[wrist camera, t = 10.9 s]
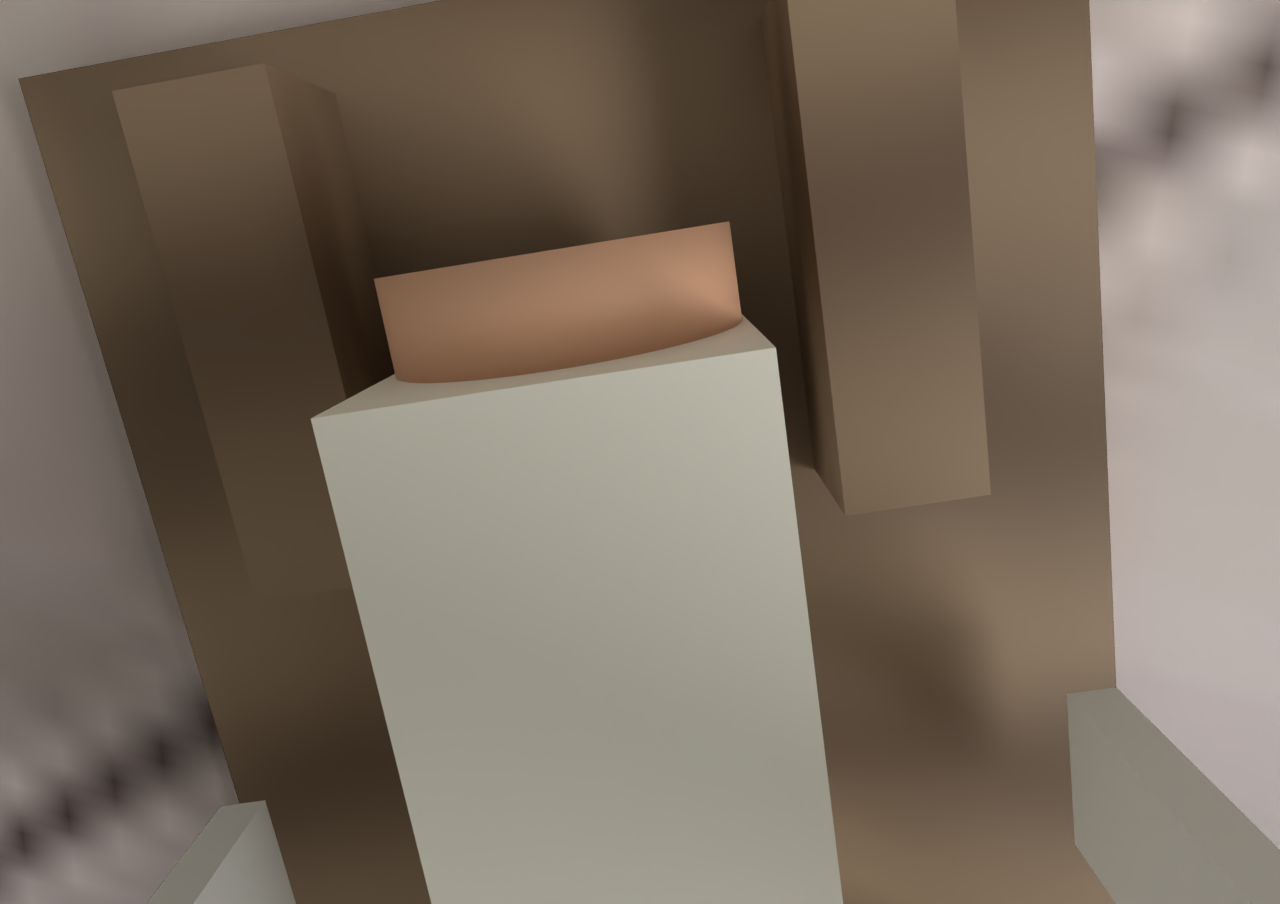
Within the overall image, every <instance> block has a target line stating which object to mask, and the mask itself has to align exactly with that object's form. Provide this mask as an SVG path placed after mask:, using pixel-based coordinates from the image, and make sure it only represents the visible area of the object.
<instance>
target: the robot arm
mask: <svg viewBox="0 0 1280 904" xmlns="http://www.w3.org/2000/svg"><path fill="white" fill-rule="evenodd" d="M1067 707H1068V726H1069V744H1070V763H1071V782H1072V800H1073V819H1074V837H1075V845H1076V846H1077V848H1078V849H1079V851H1080V852H1081V854H1082V855H1083V857H1084V858H1085V860H1086V861H1087V863H1088V864H1089V865H1090V867H1091V868H1092V870H1093V871H1094V873H1095V874H1096V876H1097V877H1098V879H1099V880H1100V882H1101V883H1102V885H1103V886H1104V888H1105V889H1106V890H1107V892H1108V893H1109V895H1110V896H1111V898H1112V899H1113V901H1114V902H1115V904H1280V850H1279V849H1278V848H1277V847H1276V846H1275V845H1274V844H1273V843H1272V842H1271V841H1270V840H1269V839H1268V838H1267V837H1266V836H1265V835H1264V834H1263V833H1262V832H1261V831H1260V830H1259V829H1258V828H1257V827H1256V826H1255V825H1254V824H1253V823H1252V822H1251V821H1250V820H1249V819H1248V818H1247V817H1246V816H1245V815H1244V814H1243V813H1242V812H1241V811H1240V810H1239V809H1238V808H1237V807H1236V806H1235V805H1234V804H1233V803H1232V802H1231V801H1230V800H1229V799H1228V798H1227V797H1226V796H1225V795H1224V794H1223V793H1222V792H1221V791H1220V790H1219V789H1218V788H1217V787H1216V786H1215V785H1214V784H1213V783H1212V782H1211V781H1210V780H1209V779H1208V778H1207V777H1206V776H1205V775H1204V774H1203V773H1202V772H1201V771H1200V770H1199V769H1198V768H1197V767H1196V766H1195V765H1194V764H1193V763H1192V762H1191V761H1190V760H1189V759H1188V758H1187V757H1186V756H1185V755H1184V754H1183V753H1182V752H1181V751H1180V750H1179V749H1178V748H1177V747H1176V746H1175V745H1174V744H1173V743H1172V742H1171V741H1170V740H1169V739H1168V738H1167V737H1166V736H1165V735H1164V734H1163V733H1162V732H1161V731H1160V730H1159V729H1158V728H1157V727H1156V726H1155V725H1154V724H1153V723H1151V722H1150V721H1149V720H1148V719H1147V718H1146V717H1145V716H1144V715H1143V714H1142V713H1141V712H1140V711H1139V710H1138V709H1137V708H1136V707H1135V706H1134V705H1133V704H1132V703H1131V702H1130V701H1129V700H1128V699H1127V698H1126V697H1125V696H1124V695H1123V694H1122V693H1121V692H1120V691H1119V690H1118V689H1117V688H1109V689H1101V690H1093V691H1086V692H1078V693H1071V694H1067ZM147 904H296V902H295V899H294V896H293V892H292V889H291V886H290V882H289V879H288V876H287V872H286V869H285V865H284V862H283V859H282V855H281V852H280V849H279V845H278V842H277V839H276V835H275V832H274V828H273V825H272V822H271V818H270V815H269V812H268V808H267V805H266V802H265V800H264V801H257V802H249V803H241V804H234V805H226V806H221V807H220V808H219V809H218V811H217V812H216V813H215V815H214V816H213V817H212V819H211V820H210V821H209V822H208V824H207V825H206V826H205V828H204V829H203V830H202V832H201V833H200V834H199V836H198V837H197V838H196V839H195V841H194V842H193V843H192V845H191V846H190V847H189V849H188V850H187V851H186V853H185V854H184V855H183V856H182V858H181V859H180V860H179V862H178V863H177V864H176V866H175V867H174V868H173V870H172V871H171V872H170V873H169V875H168V876H167V877H166V879H165V880H164V881H163V883H162V884H161V885H160V887H159V888H158V889H157V890H156V892H155V893H154V894H153V896H152V897H151V898H150V900H149V901H148V902H147Z"/></svg>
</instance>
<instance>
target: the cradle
mask: <svg viewBox="0 0 1280 904" xmlns="http://www.w3.org/2000/svg"><path fill="white" fill-rule="evenodd" d="M19 82H20V86H21V89H22V92H23V95H24V99H25V102H26V105H27V109H28V112H29V115H30V118H31V122H32V125H33V128H34V131H35V135H36V138H37V141H38V145H39V148H40V151H41V154H42V158H43V161H44V164H45V168H46V171H47V174H48V177H49V181H50V184H51V187H52V190H53V194H54V197H55V200H56V204H57V207H58V210H59V213H60V217H61V220H62V223H63V226H64V230H65V233H66V236H67V240H68V243H69V246H70V249H71V253H72V256H73V259H74V262H75V266H76V269H77V272H78V276H79V279H80V282H81V285H82V289H83V292H84V295H85V299H86V302H87V305H88V308H89V312H90V315H91V318H92V321H93V325H94V328H95V331H96V335H97V338H98V341H99V344H100V348H101V351H102V354H103V357H104V361H105V364H106V367H107V371H108V374H109V377H110V380H111V384H112V387H113V390H114V394H115V397H116V400H117V403H118V407H119V410H120V413H121V416H122V420H123V423H124V426H125V430H126V433H127V436H128V439H129V443H130V446H131V449H132V452H133V456H134V459H135V462H136V466H137V469H138V472H139V475H140V479H141V482H142V485H143V489H144V492H145V495H146V498H147V502H148V505H149V508H150V511H151V515H152V518H153V521H154V525H155V528H156V531H157V534H158V538H159V541H160V544H161V547H162V551H163V554H164V557H165V561H166V564H167V567H168V570H169V574H170V577H171V580H172V583H173V587H174V590H175V593H176V597H177V600H178V603H179V606H180V610H181V613H182V616H183V620H184V623H185V626H186V629H187V633H188V636H189V639H190V642H191V646H192V649H193V652H194V656H195V659H196V662H197V665H198V669H199V672H200V675H201V678H202V682H203V685H204V688H205V692H206V695H207V698H208V701H209V705H210V708H211V711H212V715H213V718H214V721H215V724H216V728H217V731H218V734H219V737H220V741H221V744H222V747H223V751H224V754H225V757H226V760H227V764H228V767H229V770H230V773H231V777H232V780H233V783H234V787H235V790H236V793H237V796H238V800H239V803H240V804H241V803H249V802H257V801H264V800H265V802H266V805H267V808H268V812H269V815H270V818H271V822H272V825H273V828H274V832H275V835H276V839H277V842H278V845H279V849H280V852H281V855H282V859H283V862H284V865H285V869H286V872H287V876H288V879H289V882H290V886H291V889H292V892H293V896H294V899H295V902H296V904H431V900H430V896H429V892H428V888H427V884H426V880H425V876H424V872H423V868H422V864H421V860H420V856H419V852H418V848H417V844H416V840H415V836H414V832H413V828H412V824H411V820H410V816H409V812H408V808H407V804H406V800H405V796H404V792H403V788H402V784H401V780H400V775H399V771H398V767H397V763H396V759H395V755H394V751H393V747H392V743H391V739H390V735H389V731H388V727H387V723H386V719H385V715H384V711H383V707H382V703H381V699H380V695H379V691H378V687H377V683H376V679H375V675H374V671H373V667H372V663H371V659H370V655H369V651H368V647H367V643H366V639H365V635H364V631H363V627H362V623H361V619H360V615H359V611H358V607H357V603H356V599H355V595H354V591H353V587H352V583H351V579H350V575H349V571H348V567H347V563H346V559H345V555H344V551H343V547H342V543H341V539H340V535H339V531H338V527H337V523H336V519H335V515H334V511H333V507H332V503H331V499H330V495H329V491H328V487H327V483H326V479H325V475H324V471H323V467H322V463H321V459H320V455H319V451H318V447H317V443H316V439H315V435H314V430H313V426H312V422H311V418H313V417H315V416H316V415H318V414H320V413H322V412H324V411H326V410H328V409H330V408H332V407H333V406H335V405H337V404H339V403H341V402H343V401H345V400H347V399H348V398H350V397H352V396H354V395H356V394H358V393H360V392H362V391H363V390H365V389H367V388H369V387H371V386H373V385H375V384H377V383H378V382H380V381H382V380H384V379H386V378H388V377H390V376H392V375H393V374H395V372H394V367H393V363H392V358H391V354H390V349H389V345H388V340H387V336H386V331H385V327H384V323H383V318H382V314H381V309H380V305H379V300H378V296H377V291H376V287H375V282H374V279H376V278H382V277H388V276H394V275H400V274H406V273H412V272H419V271H425V270H431V269H437V268H443V267H450V266H456V265H462V264H468V263H474V262H480V261H487V260H493V259H499V258H505V257H511V256H518V255H524V254H530V253H536V252H542V251H548V250H555V249H561V248H567V247H573V246H579V245H586V244H592V243H598V242H604V241H610V240H617V239H623V238H629V237H635V236H641V235H648V234H654V233H660V232H666V231H672V230H679V229H685V228H691V227H697V226H703V225H710V224H716V223H722V222H728V221H729V222H730V230H731V238H732V245H733V253H734V261H735V269H736V276H737V284H738V292H739V300H740V307H741V314H742V315H743V316H744V317H745V318H746V319H747V320H748V321H749V322H750V323H751V324H752V325H753V326H755V327H756V328H757V329H758V330H759V331H760V332H761V333H762V334H763V335H764V336H765V337H766V338H767V339H768V340H769V341H770V342H771V343H772V344H773V345H774V346H775V347H776V352H777V361H778V369H779V377H780V386H781V394H782V402H783V410H784V419H785V427H786V435H787V443H788V452H789V460H790V468H791V476H792V485H793V493H794V501H795V509H796V518H797V526H798V534H799V542H800V551H801V559H802V567H803V575H804V584H805V592H806V600H807V609H808V617H809V625H810V633H811V642H812V650H813V658H814V666H815V675H816V683H817V691H818V699H819V708H820V716H821V724H822V732H823V741H824V749H825V757H826V765H827V774H828V782H829V790H830V798H831V807H832V815H833V823H834V832H835V840H836V848H837V856H838V865H839V873H840V881H841V889H842V898H843V904H1115V902H1114V901H1113V899H1112V898H1111V896H1110V895H1109V893H1108V892H1107V890H1106V889H1105V888H1104V886H1103V885H1102V883H1101V882H1100V880H1099V879H1098V877H1097V876H1096V874H1095V873H1094V871H1093V870H1092V868H1091V867H1090V865H1089V864H1088V863H1087V861H1086V860H1085V858H1084V857H1083V855H1082V854H1081V852H1080V851H1079V849H1078V848H1077V846H1076V845H1075V837H1074V819H1073V800H1072V782H1071V763H1070V744H1069V726H1068V707H1067V694H1071V693H1078V692H1086V691H1093V690H1101V689H1109V688H1116V671H1115V646H1114V621H1113V595H1112V570H1111V544H1110V519H1109V494H1108V468H1107V443H1106V418H1105V392H1104V367H1103V342H1102V316H1101V291H1100V266H1099V240H1098V215H1097V189H1096V164H1095V139H1094V113H1093V88H1092V63H1091V37H1090V12H1089V0H442V1H436V2H431V3H426V4H420V5H415V6H409V7H404V8H399V9H393V10H388V11H382V12H377V13H372V14H366V15H361V16H355V17H350V18H345V19H339V20H334V21H328V22H323V23H317V24H312V25H307V26H301V27H296V28H290V29H285V30H280V31H274V32H269V33H263V34H258V35H253V36H247V37H242V38H236V39H231V40H226V41H220V42H215V43H209V44H204V45H199V46H193V47H188V48H182V49H177V50H171V51H166V52H161V53H155V54H150V55H144V56H139V57H134V58H128V59H123V60H117V61H112V62H107V63H101V64H96V65H90V66H85V67H80V68H74V69H69V70H63V71H58V72H52V73H47V74H42V75H36V76H31V77H25V78H20V79H19Z"/></svg>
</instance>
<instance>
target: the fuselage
mask: <svg viewBox="0 0 1280 904" xmlns="http://www.w3.org/2000/svg"><path fill="white" fill-rule="evenodd" d="M374 282H375V287H376V291H377V296H378V300H379V305H380V309H381V314H382V318H383V323H384V327H385V331H386V336H387V340H388V345H389V349H390V354H391V358H392V363H393V367H394V372H395V374H393V375H392V376H390V377H388V378H386V379H384V380H382V381H380V382H378V383H377V384H375V385H373V386H371V387H369V388H367V389H365V390H363V391H362V392H360V393H358V394H356V395H354V396H352V397H350V398H348V399H347V400H345V401H343V402H341V403H339V404H337V405H335V406H333V407H332V408H330V409H328V410H326V411H324V412H322V413H320V414H318V415H316V416H315V417H313V418H311V422H312V426H313V430H314V435H315V439H316V443H317V447H318V451H319V455H320V459H321V463H322V467H323V471H324V475H325V479H326V483H327V487H328V491H329V495H330V499H331V503H332V507H333V511H334V515H335V519H336V523H337V527H338V531H339V535H340V539H341V543H342V547H343V551H344V555H345V559H346V563H347V567H348V571H349V575H350V579H351V583H352V587H353V591H354V595H355V599H356V603H357V607H358V611H359V615H360V619H361V623H362V627H363V631H364V635H365V639H366V643H367V647H368V651H369V655H370V659H371V663H372V667H373V671H374V675H375V679H376V683H377V687H378V691H379V695H380V699H381V703H382V707H383V711H384V715H385V719H386V723H387V727H388V731H389V735H390V739H391V743H392V747H393V751H394V755H395V759H396V763H397V767H398V771H399V775H400V780H401V784H402V788H403V792H404V796H405V800H406V804H407V808H408V812H409V816H410V820H411V824H412V828H413V832H414V836H415V840H416V844H417V848H418V852H419V856H420V860H421V864H422V868H423V872H424V876H425V880H426V884H427V888H428V892H429V896H430V900H431V904H843V898H842V889H841V881H840V873H839V865H838V856H837V848H836V840H835V832H834V823H833V815H832V807H831V798H830V790H829V782H828V774H827V765H826V757H825V749H824V741H823V732H822V724H821V716H820V708H819V699H818V691H817V683H816V675H815V666H814V658H813V650H812V642H811V633H810V625H809V617H808V609H807V600H806V592H805V584H804V575H803V567H802V559H801V551H800V542H799V534H798V526H797V518H796V509H795V501H794V493H793V485H792V476H791V468H790V460H789V452H788V443H787V435H786V427H785V419H784V410H783V402H782V394H781V386H780V377H779V369H778V361H777V352H776V347H775V346H774V345H773V344H772V343H771V342H770V341H769V340H768V339H767V338H766V337H765V336H764V335H763V334H762V333H761V332H760V331H759V330H758V329H757V328H756V327H755V326H753V325H752V324H751V323H750V322H749V321H748V320H747V319H746V318H745V317H744V316H743V315H742V314H741V307H740V300H739V292H738V284H737V276H736V269H735V261H734V253H733V245H732V238H731V230H730V222H729V221H728V222H722V223H716V224H710V225H703V226H697V227H691V228H685V229H679V230H672V231H666V232H660V233H654V234H648V235H641V236H635V237H629V238H623V239H617V240H610V241H604V242H598V243H592V244H586V245H579V246H573V247H567V248H561V249H555V250H548V251H542V252H536V253H530V254H524V255H518V256H511V257H505V258H499V259H493V260H487V261H480V262H474V263H468V264H462V265H456V266H450V267H443V268H437V269H431V270H425V271H419V272H412V273H406V274H400V275H394V276H388V277H382V278H376V279H374Z"/></svg>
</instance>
